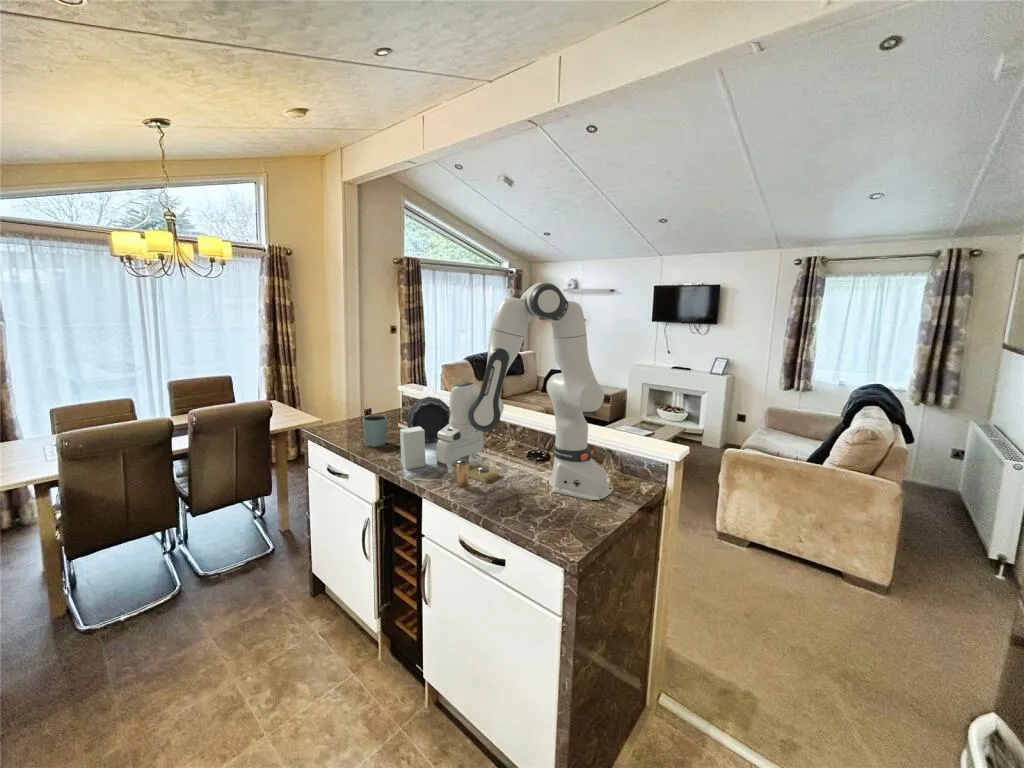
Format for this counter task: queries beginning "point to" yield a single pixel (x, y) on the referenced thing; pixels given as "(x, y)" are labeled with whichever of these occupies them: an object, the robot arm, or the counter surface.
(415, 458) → the skincare box
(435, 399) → the scalloped baking dish
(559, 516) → the counter surface
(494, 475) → the chain joint
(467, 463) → the pin
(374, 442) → the teal plant pot
